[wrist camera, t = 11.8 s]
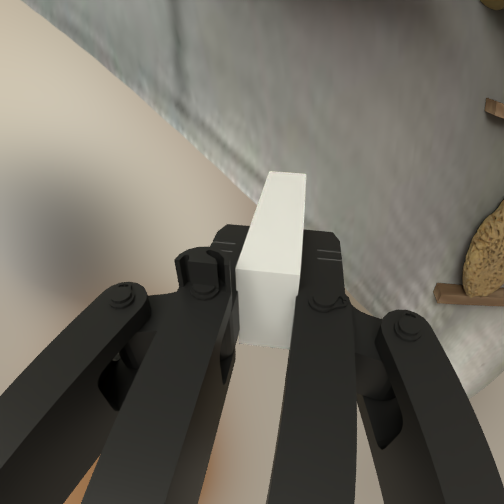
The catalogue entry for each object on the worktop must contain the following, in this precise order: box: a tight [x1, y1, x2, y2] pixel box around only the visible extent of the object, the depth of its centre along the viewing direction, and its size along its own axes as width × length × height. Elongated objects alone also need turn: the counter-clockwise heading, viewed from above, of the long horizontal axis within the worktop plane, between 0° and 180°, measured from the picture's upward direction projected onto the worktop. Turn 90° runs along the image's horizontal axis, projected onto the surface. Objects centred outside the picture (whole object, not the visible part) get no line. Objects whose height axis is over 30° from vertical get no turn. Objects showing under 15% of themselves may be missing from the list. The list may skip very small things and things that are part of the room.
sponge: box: [462, 200, 504, 298], centre depth 39 cm, size 13×8×20 cm
